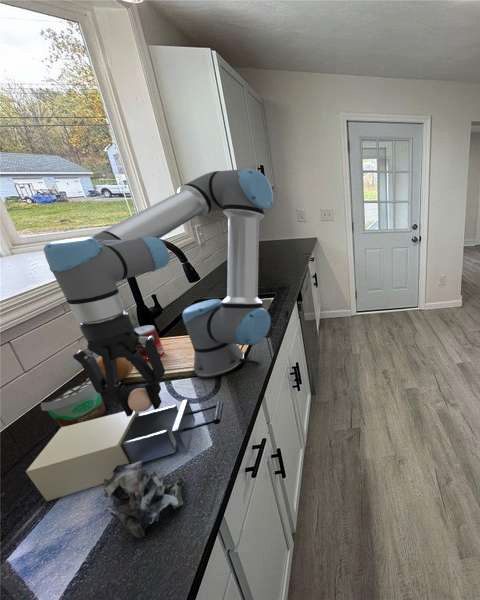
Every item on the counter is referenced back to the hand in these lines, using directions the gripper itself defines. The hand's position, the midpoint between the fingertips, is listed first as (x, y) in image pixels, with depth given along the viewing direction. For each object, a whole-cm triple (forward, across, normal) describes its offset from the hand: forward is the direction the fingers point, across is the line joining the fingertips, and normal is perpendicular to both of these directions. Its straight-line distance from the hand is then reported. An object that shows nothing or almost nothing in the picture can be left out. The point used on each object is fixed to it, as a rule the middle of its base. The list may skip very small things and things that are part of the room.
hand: (144, 408), depth 72 cm
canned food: (+12, +16, -54) cm, 57 cm away
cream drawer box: (+12, +11, 0) cm, 16 cm away
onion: (+12, +22, -41) cm, 48 cm away
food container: (+12, +21, -21) cm, 32 cm away
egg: (0, 0, 0) cm, 0 cm away
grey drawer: (+11, -4, 0) cm, 11 cm away
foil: (+12, -2, +17) cm, 21 cm away
